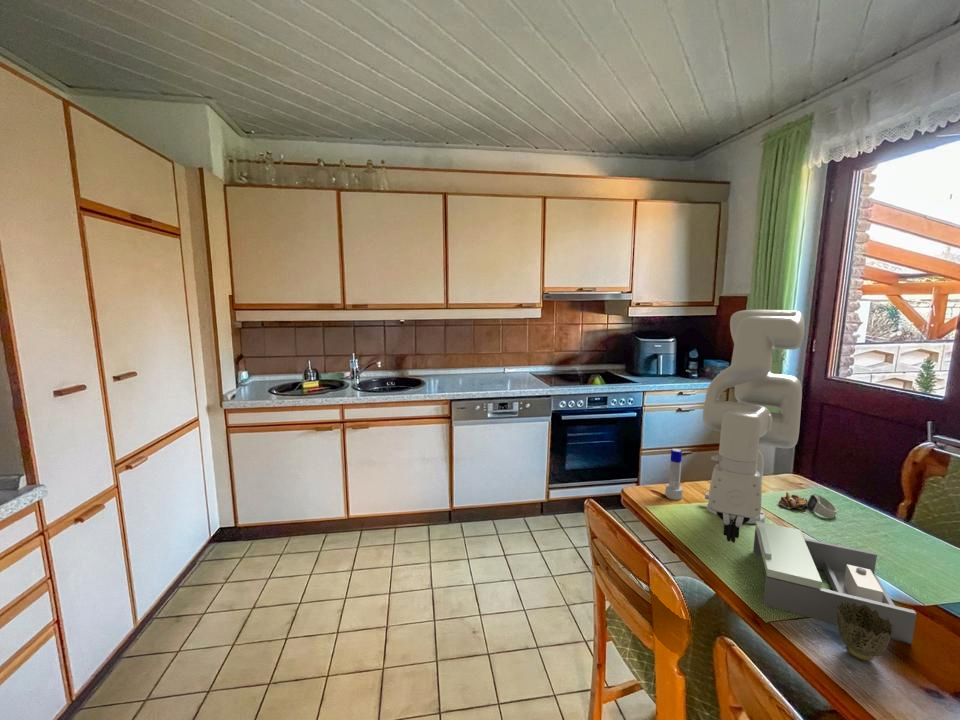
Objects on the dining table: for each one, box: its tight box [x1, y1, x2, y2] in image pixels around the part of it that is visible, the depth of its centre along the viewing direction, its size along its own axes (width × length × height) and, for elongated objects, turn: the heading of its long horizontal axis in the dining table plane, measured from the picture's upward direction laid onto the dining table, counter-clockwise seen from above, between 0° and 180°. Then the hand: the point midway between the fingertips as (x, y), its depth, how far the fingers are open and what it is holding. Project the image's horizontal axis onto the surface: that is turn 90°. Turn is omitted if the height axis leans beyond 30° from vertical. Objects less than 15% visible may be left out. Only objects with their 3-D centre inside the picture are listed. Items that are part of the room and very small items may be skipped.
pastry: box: [777, 491, 808, 515], centre depth 133 cm, size 7×12×4 cm, turn 139°
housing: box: [752, 528, 917, 645], centre depth 93 cm, size 23×21×6 cm
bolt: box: [664, 448, 684, 501], centre depth 136 cm, size 16×5×5 cm
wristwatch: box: [807, 493, 838, 519], centre depth 127 cm, size 9×6×5 cm
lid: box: [755, 521, 823, 589], centre depth 96 cm, size 9×21×3 cm, turn 153°
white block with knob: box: [844, 564, 883, 602], centre depth 90 cm, size 4×8×6 cm, turn 152°
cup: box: [837, 602, 894, 663], centre depth 76 cm, size 8×7×8 cm
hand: (730, 539), depth 100 cm, fingers closed
